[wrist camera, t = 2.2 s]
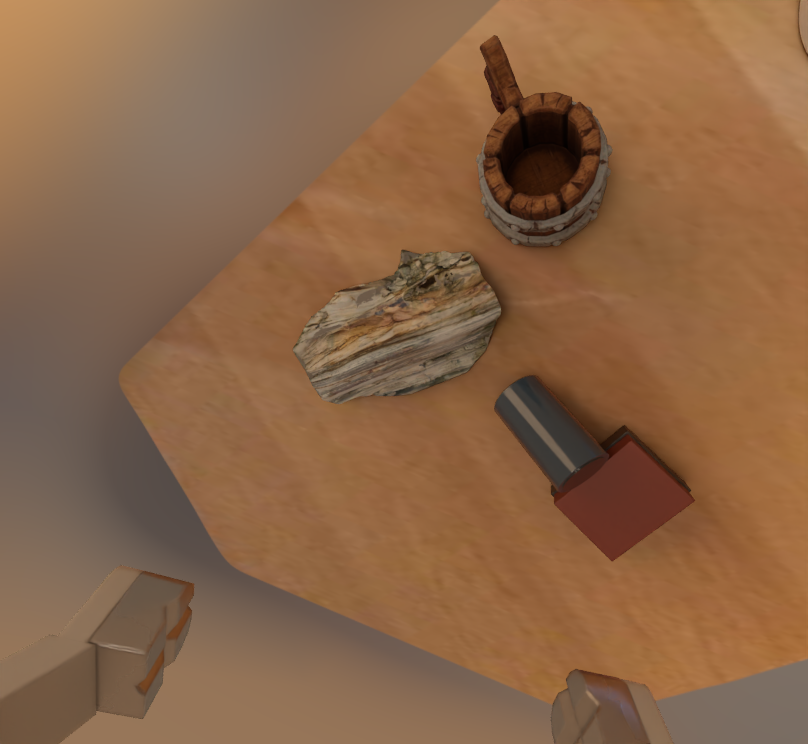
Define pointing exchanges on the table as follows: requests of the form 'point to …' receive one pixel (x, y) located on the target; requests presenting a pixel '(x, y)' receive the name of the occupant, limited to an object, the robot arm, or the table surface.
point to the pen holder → (550, 433)
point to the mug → (539, 160)
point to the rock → (400, 329)
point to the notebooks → (624, 496)
